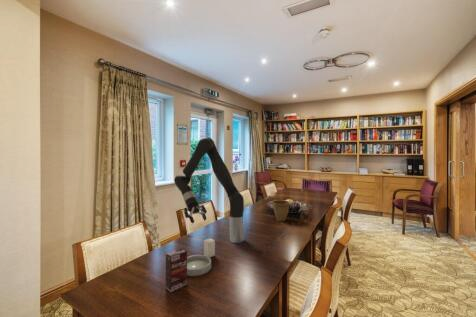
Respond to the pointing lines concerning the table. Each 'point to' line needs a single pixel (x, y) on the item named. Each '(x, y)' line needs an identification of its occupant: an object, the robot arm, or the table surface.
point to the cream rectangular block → (209, 247)
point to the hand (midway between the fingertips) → (199, 221)
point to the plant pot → (281, 209)
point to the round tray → (198, 265)
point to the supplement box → (176, 269)
